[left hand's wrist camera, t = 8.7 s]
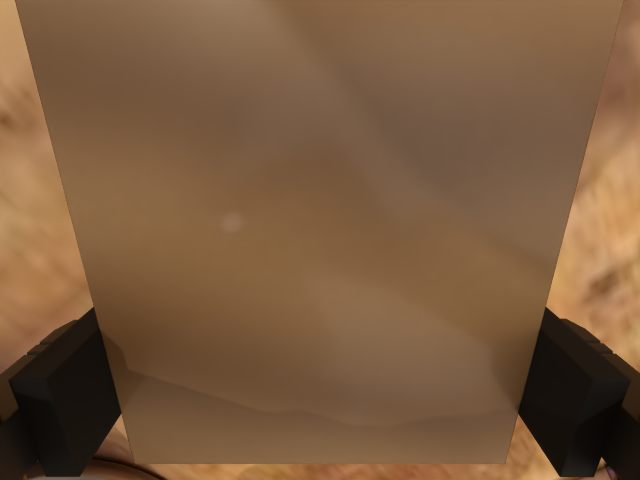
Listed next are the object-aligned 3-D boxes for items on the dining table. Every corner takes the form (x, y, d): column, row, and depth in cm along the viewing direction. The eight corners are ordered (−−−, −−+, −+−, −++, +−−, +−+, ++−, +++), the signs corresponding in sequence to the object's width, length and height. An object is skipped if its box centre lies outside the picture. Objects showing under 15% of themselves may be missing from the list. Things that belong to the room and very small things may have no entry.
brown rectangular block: (168, -181, 12) (-240, -975, 3) (471, -181, 12) (877, -976, 3) (222, 298, 19) (133, 464, 10) (417, 298, 19) (505, 465, 10)
